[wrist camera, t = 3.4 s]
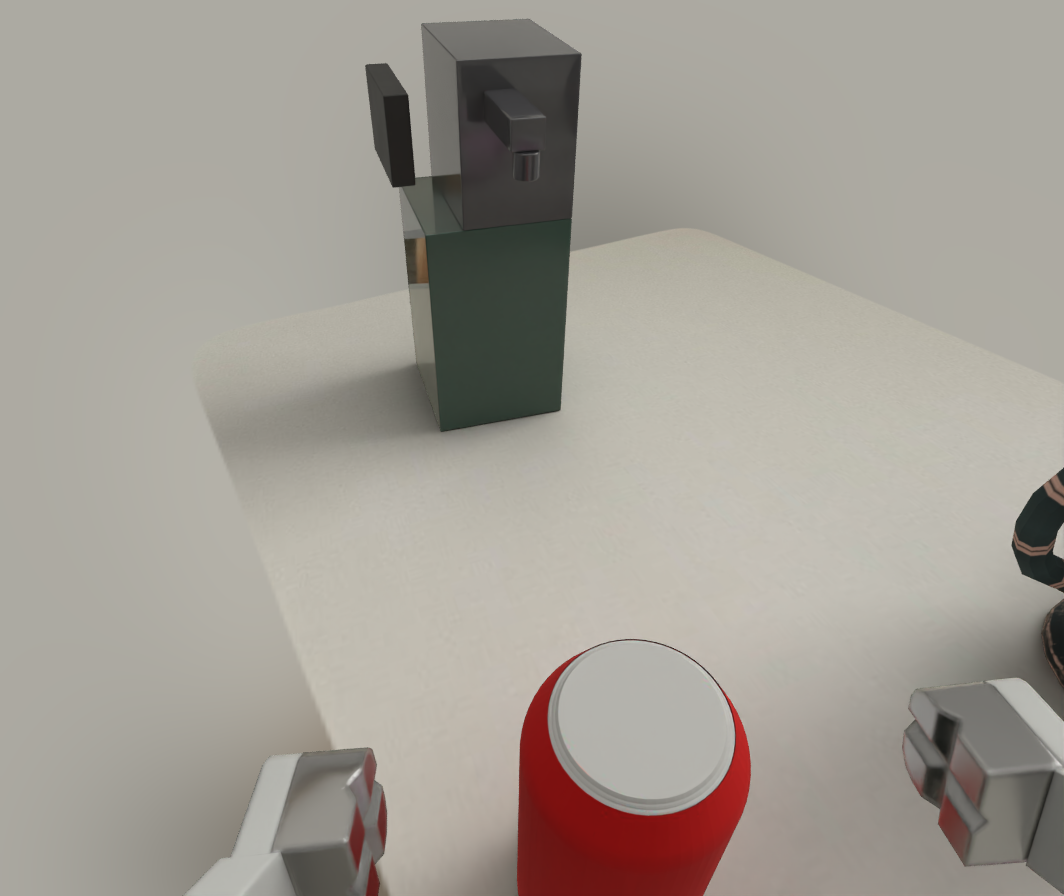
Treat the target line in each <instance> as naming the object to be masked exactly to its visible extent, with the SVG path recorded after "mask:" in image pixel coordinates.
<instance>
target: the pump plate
mask: <svg viewBox="0 0 1064 896" xmlns="http://www.w3.org/2000/svg"><path fill="white" fill-rule="evenodd" d="M365 67H366V76H367V84H368V93H369V101H370V110H371V119H372V127H373V135H374V144H375V150H376V151H377V154H378V156H379V158H380V161H381V163H382V165H383V167H384V169H385V171H386V174H387V176H388V178H389V180H390V182H391V185H392V187H405V186H414V185H415V173H414V160H413V148H412V137H411V124H410V112H409V100H408V94H407V93H406V91H405V90H404V88H403V87H402V85H401V83H400V82H399V80H398V79H397V78H396V76H395V74H394V73H393V71H392V70H391V68H390V67H389V65H388V64H386V63H385V64H369V65H366V66H365Z"/></svg>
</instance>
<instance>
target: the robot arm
mask: <svg viewBox="0 0 1064 896" xmlns="http://www.w3.org/2000/svg"><path fill="white" fill-rule="evenodd" d="M908 709H909V710H910V712H911V713H912V715H913V716H914V718H915V720H914V721H913V722H912V723H911V724H910V725H909V726H908V727H907V728H906V729H905V730H904V738H903V746H902V749H903V754H904V760H905V765H906V768H907V771H908V773H909V775H910V778H911V780H912V782H913V784H914V786H915V787H916V789H917V791H918V792H919V794H920V796H921V797H923V798H924V799H926V800H927V801H929V802H930V803H932V804H933V805H935V806H936V807H938V808H939V809H940V813H939V820H938V825H939V826H940V828H941V830H942V831H943V833H944V834H945V836H946V838H947V839H948V841H949V842H950V844H951V845H952V847H953V849H954V850H955V852H956V853H957V855H958V857H959V858H960V860H961V861H962V863H963V865H964V866H965V867H967V866H980V865H993V864H1006V863H1019V862H1027V863H1026V866H1028V867H1029V868H1030V869H1032V870H1033V871H1034V872H1035V873H1037V874H1038V875H1039V876H1041V877H1042V878H1043V879H1045V880H1046V881H1047V882H1048V883H1050V884H1051V885H1052V886H1054V887H1055V888H1056V889H1058V890H1059V891H1060V892H1061V893H1063V894H1064V721H1063V720H1062V719H1061V718H1060V717H1059V716H1058V715H1057V714H1056V712H1055V711H1054V710H1053V709H1052V708H1051V707H1050V706H1049V705H1048V704H1047V703H1046V702H1045V701H1044V700H1043V699H1042V698H1041V696H1040V695H1039V694H1038V693H1037V692H1036V691H1035V690H1034V689H1033V688H1032V687H1031V686H1030V685H1029V684H1028V683H1027V682H1026V681H1024V680H1022V679H1020V678H1018V677H1017V678H1008V679H999V680H990V681H983V682H971V683H962V684H954V685H945V686H937V687H928V688H919V689H916V690H915V691H914V692H913V694H912V695H911V697H910V702H909V707H908ZM376 767H377V763H376V760H375V756H374V753H373V750H372V749H371V748H368V747H367V748H355V749H342V750H330V751H318V752H305V753H299V754H288V755H276V756H275V755H274V756H269V758H268V759H267V760H266V761H265V763H264V764H263V765H262V768H261V771H260V773H259V777H258V779H257V782H256V785H255V788H254V791H253V793H252V796H251V799H250V802H249V805H248V808H247V811H246V813H245V816H244V819H243V822H242V825H241V828H240V831H239V833H238V836H237V839H236V842H235V845H234V848H233V851H232V853H231V856H230V857H229V858H222V859H219V860H218V861H217V862H216V863H215V864H214V865H213V866H212V867H211V868H210V869H209V870H208V871H207V872H206V873H205V874H204V875H203V876H202V877H201V878H200V879H199V880H198V881H197V882H196V883H195V884H194V885H193V886H192V887H191V888H190V889H189V890H188V891H187V892H186V893H185V894H184V895H183V896H378V893H379V886H380V882H379V878H378V874H377V871H376V867H375V864H376V863H377V862H378V861H379V859H380V858H381V857H382V856H383V854H384V851H385V843H386V835H387V809H386V801H385V795H384V791H383V787H382V785H381V784H379V783H378V782H376V781H375V780H374V779H375V773H376Z"/></svg>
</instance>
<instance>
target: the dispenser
mask: <svg viewBox="0 0 1064 896" xmlns="http://www.w3.org/2000/svg"><path fill="white" fill-rule="evenodd" d="M421 29H422V42H423V56H424V71H425V87H426V102H427V116H428V131H429V145H430V160H431V175H432V176H429V177H419V178H415V185H414V186H405V187H399V193H400V203H401V213H402V223H403V233H404V243H405V254H406V263H407V274H408V284H409V295H410V305H411V315H412V325H413V335H414V345H415V355H416V364H417V366H418V369H419V372H420V375H421V378H422V380H423V383H424V386H425V389H426V392H427V395H428V397H429V400H430V403H431V406H432V409H433V411H434V414H435V417H436V420H437V423H438V426H439V428H440V431H441V432H442V431H447V430H453V429H458V428H464V427H469V426H475V425H480V424H486V423H491V422H497V421H502V420H508V419H513V418H519V417H524V416H530V415H535V414H541V413H546V412H552V411H557V410H560V409H561V393H562V376H563V359H564V342H565V325H566V308H567V291H568V274H569V257H570V240H571V223H572V219H571V218H572V206H573V189H574V173H575V156H576V139H577V121H578V105H579V87H580V70H581V53H580V52H578V51H577V50H575V49H574V48H572V47H570V46H569V45H568V44H566V43H565V42H563V41H562V40H560V39H559V38H557V37H555V36H554V35H553V34H551V33H550V32H548V31H547V30H545V29H544V28H542V27H541V26H539V25H538V24H536V23H535V22H533V21H532V20H530V19H514V20H490V21H467V22H442V23H422V24H421Z"/></svg>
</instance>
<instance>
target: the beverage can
mask: <svg viewBox="0 0 1064 896" xmlns="http://www.w3.org/2000/svg"><path fill="white" fill-rule="evenodd" d="M750 777H751V761H750V753H749V746H748V742H747V737H746V734H745V731H744V728H743V725H742V722H741V720H740V718H739V715H738V713H737V711H736V709H735V708H734V706H733V704H732V702H731V701H730V699H729V698H728V696H727V695H726V694H725V692H724V691H723V690H722V688H721V687H720V686H719V684H718V683H717V682H716V680H715V679H714V678H713V677H712V676H711V675H710V673H708V672H707V671H706V670H705V669H704V668H703V667H702V666H701V665H700V664H699V663H697V662H696V661H695V660H693V659H692V658H690V657H689V656H687V655H686V654H684V653H682V652H680V651H678V650H676V649H674V648H672V647H669V646H666V645H664V644H660V643H657V642H652V641H647V640H638V639H625V640H616V641H610V642H607V643H603V644H600V645H598V646H595V647H593V648H590V649H588V650H586V651H584V652H582V653H580V654H578V655H576V656H574V657H572V658H571V659H569V660H568V661H566V662H565V663H563V664H562V665H561V666H560V667H558V668H557V669H556V670H555V671H554V672H553V673H552V674H551V675H550V676H549V677H548V678H547V679H546V681H545V682H544V683H543V684H542V686H541V687H540V689H539V690H538V692H537V693H536V695H535V696H534V698H533V700H532V702H531V704H530V706H529V709H528V711H527V714H526V717H525V720H524V724H523V728H522V733H521V740H520V767H519V813H518V858H517V886H518V895H519V896H703V894H704V892H705V890H706V888H707V886H708V884H709V882H710V880H711V878H712V876H713V874H714V872H715V869H716V867H717V865H718V863H719V861H720V859H721V857H722V855H723V853H724V851H725V849H726V847H727V845H728V842H729V840H730V838H731V836H732V834H733V832H734V830H735V828H736V826H737V824H738V822H739V820H740V818H741V816H742V813H743V810H744V807H745V804H746V802H747V797H748V793H749V787H750ZM648 815H650V816H648Z"/></svg>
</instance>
